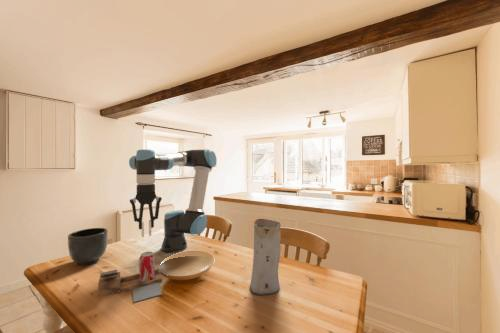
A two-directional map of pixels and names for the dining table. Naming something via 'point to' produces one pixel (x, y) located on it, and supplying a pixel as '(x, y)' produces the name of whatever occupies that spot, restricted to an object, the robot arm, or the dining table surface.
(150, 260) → the beverage can
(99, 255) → the planter
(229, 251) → the dining table surface
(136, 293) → the mat
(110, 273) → the blue-grey rectangular panel
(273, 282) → the vase
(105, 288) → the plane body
